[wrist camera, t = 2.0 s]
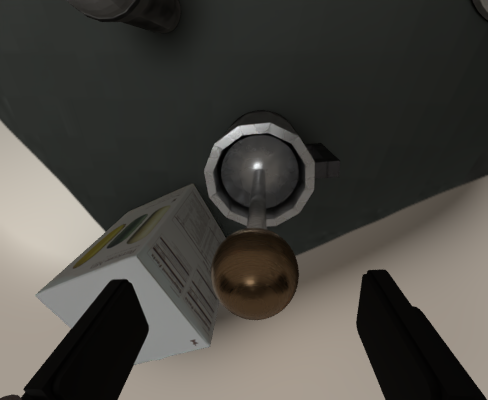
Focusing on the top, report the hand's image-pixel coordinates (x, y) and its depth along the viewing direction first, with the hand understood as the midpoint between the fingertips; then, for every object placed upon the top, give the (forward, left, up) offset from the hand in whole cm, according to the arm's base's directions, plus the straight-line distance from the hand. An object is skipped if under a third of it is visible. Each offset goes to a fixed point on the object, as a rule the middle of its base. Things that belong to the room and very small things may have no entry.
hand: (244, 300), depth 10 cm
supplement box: (+14, +12, -26) cm, 32 cm away
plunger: (0, 0, -16) cm, 16 cm away
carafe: (-2, 0, -26) cm, 26 cm away
